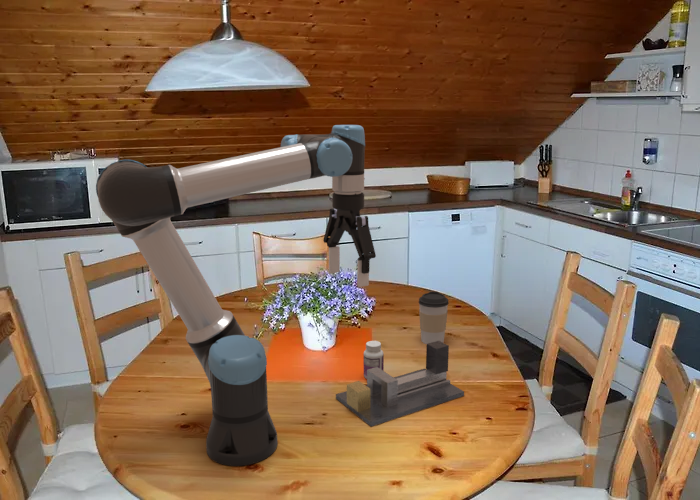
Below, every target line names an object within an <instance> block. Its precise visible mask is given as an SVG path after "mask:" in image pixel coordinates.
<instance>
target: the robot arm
mask: <svg viewBox="0 0 700 500" xmlns="http://www.w3.org/2000/svg"><path fill="white" fill-rule="evenodd" d="M365 138H366V135H365V130H364V127H363V126H362V125H359V124H335V125H333V126H332V128H331V131H330V133H325V134H288V135H284V137H282V139H281V141H280V147H275V148H271V149H265V150H260V151H256V152H251V153H246V154H243V155H242V154H241V155H238V156H231V157H227V158H222V159H217V160H213V161H208V162H202V163H199V164H194V165H187V166H184V167H180V168H176V167H175V166H173V165H171V164H167V165H161V166H153V167H152V166H151V167H147V166H146V165H145V164H144V163H141V162H139V161H136V160H133V159H122V160H120V159H119V160H117V161H114V162H111V163H110V164H108V165H107V166H105V168H103V170H101V172H100V173H99V175H98V177H97V180H96V183H95V191H96V192H95V193H96V196H97V198H98V203H99V206H100V208H101V210H102V212H103V213H104V215H106V216H107V217H108V218H109V219H110V220H111V222H112V223H113V224H114V227H115V228H116V230H117V231H118V233H119V234H120V235H121V237H123V238H127V239H130V240H132V241H133V242H134V244H135V246H136V247H137V249H138V251H140V254H141V255H142V257H143V258H144V260H145V261H146V264H147V265H148V267H149V269H150V270H151V271H152V273H153V275H154V277H155V278H156V280H157V281H158V283H159V284H160V286H161V288H162V290H163V291H164V293H165V295H166V296H167V298H168V299H169V301H170V302H171V304H172V305H173V307H174V309H175V311H176V313H177V314H178V315H179V317H180V318H181V320H182V322H183V323H184V325H185V327H186V328H187V331H186V334H185V340H186V342H187V344H188V346H189V347H190V348H191V350H192V352H193V353H194V355H195V357H196V359H197V360H198V361H199V363H200V365H201V367H202V369H203V371H204V373H205V376H206V379H207V380H208V382H209V386H210V394H211V396H210V397H211V409H212V418H211V421H210V425H209V429H208V431H207V432H208V433H207V435H206V439H205V441H206V442H205V444H206V445H205V447H206V454H207V456H208V458H210V460H212V461H213V462H215V463H217V464H220V465H225V466H229V467H230V466H231V467H238V466H239V467H240V466H249V465H253V464H256V463H259V462H261V461H264V460H265V459H267V458H269V457H270V456H272V455H273V453H274V452H276V450H277V447H278V443H279V442H278V432H277V429H276V427H275V425H274V422H273V420H272V416H271V415H270V413H269V404H268V402H269V401H268V382H267V380H268V379H267V378H268V376H267V365H268V363H267V362H268V361H267V359H268V358H267V355H266V351H265V347H264V345H263V344H262V342H261V341H259V339H257V338H255V337H249V335H245V333H244V331H243V330H242V328H241V325H240V324H239V323H238V321H237V319H236V318H235V316H234V314H233V313H232V311H230V310H226V309H222V306H221V305H220V304H219V302H218V300H217V298H216V296H215V295H214V293H213V291H212V289H211V288H210V286H209V284H208V283H207V281H206V280H205V277H204V276H203V274H202V272H201V271H200V269H199V267H198V265H197V264H196V262H195V260H194V258H193V257H192V255H191V253H190V251H189V250H188V248H187V246H186V245H185V243H184V241H183V240H182V238H181V236H180V234H179V233H178V231H177V229H176V227H175V226H174V224H173V221H171V218H172V217H173V218H174V217H177V216H181V215H184V212H185V211H186V209H188V208H192V207H196V206H200V205H204V204H208V203H213V202H217V201H221V200H225V199H229V198H234V197H239V196H243V195H247V194H252V193H255V192H259V191H260V192H261V191H263V190H268V189H272V188H277V187H281V186H286V185H289V184H293V183H299V182H301V181H305V180H311V179H316V178H321V177H325V176H327V177H330V178H331V179H332V180H331V182H332V183H331V186H332V187H331V189H332V191H333V193H332V195H331V197H332V198H331V199H332V202H331V203H332V208H329V217H328V220H327V223H326V225H327V226H326V229H325V232H324V236H323V239H322V240H323V243H324V244H325V243H326V246H327V247H328V273H329V274H336V273H340V272H341V271H340V269H341V267H340V266H341V265H340V263H341V262H340V258H341V257H340V251H341V249H340V248H341V247H340V245H341V244H340V241H341V239H342V237H343V235H344V233H345V232H346V233H347V234H348V235H349V236H350V237H351V239H352V242H353V245H354V246H355V250H356V252H357V254H358V258H357V263H356V264H357V269H356V270H357V271H356V274H357V279H356V282H357V287H358V288H363V287H367V286H369V285H370V283H369V282H370V262H371V261H370V260H371V259H375V258H376V257H377V256H376V251H375V250H376V249H375V246H374V242H373V237H372V234H371V231H370V226H369V225H370V224H369V217H368V215H363V216H361V213H360V212H361V210H363V209H364V208H365V193H364V192H363V191H365V179H366V178H365V159H366V157H365V156H366V154H365V151H366V139H365Z"/></svg>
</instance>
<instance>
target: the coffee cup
mask: <svg viewBox="0 0 700 500" xmlns="http://www.w3.org/2000/svg"><path fill="white" fill-rule="evenodd" d="M418 305H419V306H418V307H419V310H418V311H419V314H418V315H419V329H420V341H421V343H422V342H423V343H422V344H425V345H427V344H428V343H431V342H435V341H441V342H443V343H444V342H445V333H446V329H447V319H448V305H449V298H447V297H446V296H445V294H442V293H440V292H438V291H433V290H431V291H429V292H426V293H424V294H422V296H421V297H419V298H418ZM444 344H445V343H444Z"/></svg>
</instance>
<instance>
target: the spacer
mask: <svg viewBox="0 0 700 500" xmlns="http://www.w3.org/2000/svg"><path fill="white" fill-rule="evenodd" d="M366 385H367V384H364V383H363V382H361V381H360V380H358V381H354V382H351V383H347V384H346V391H347V404H348V405H350V406H351V407H352V408H353V409H355V410H356V411H357V412H360V411H363V410H366V409H369V408H370V388H368V387H367V386H366Z"/></svg>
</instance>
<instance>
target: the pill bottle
mask: <svg viewBox="0 0 700 500" xmlns="http://www.w3.org/2000/svg"><path fill="white" fill-rule="evenodd" d="M384 357H385V355H384V350H382V344H381V342H380V341H378V340H370V341H367V342H366V343H365V350H364V351H363V377H364V379H366V380H367V370H368V369H371V368H375V367H378V368H380V369H381V370H383V371H384V359H385V358H384ZM384 372H385V371H384Z"/></svg>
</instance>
